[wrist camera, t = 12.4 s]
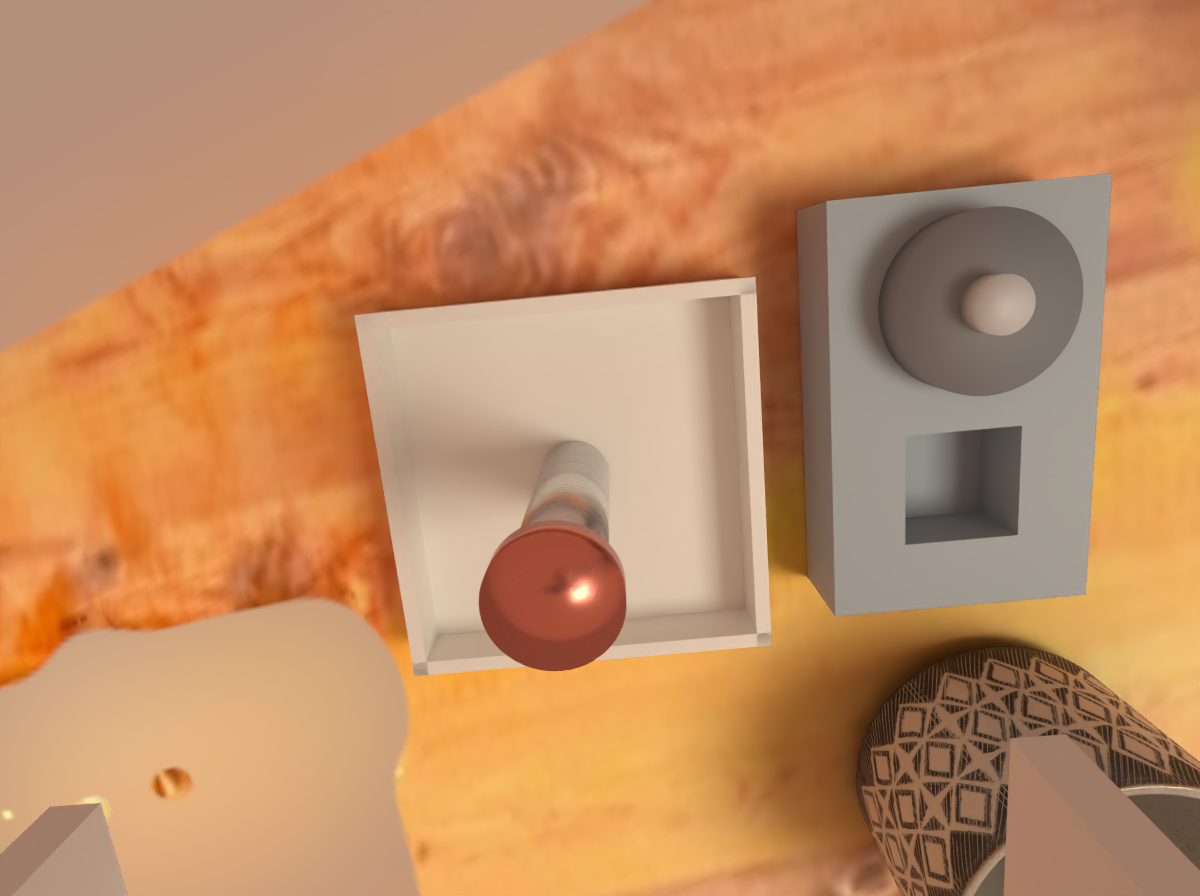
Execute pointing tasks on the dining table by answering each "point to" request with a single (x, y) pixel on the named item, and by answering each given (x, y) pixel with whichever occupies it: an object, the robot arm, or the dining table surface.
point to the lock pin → (558, 569)
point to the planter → (1001, 764)
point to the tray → (587, 414)
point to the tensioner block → (951, 392)
